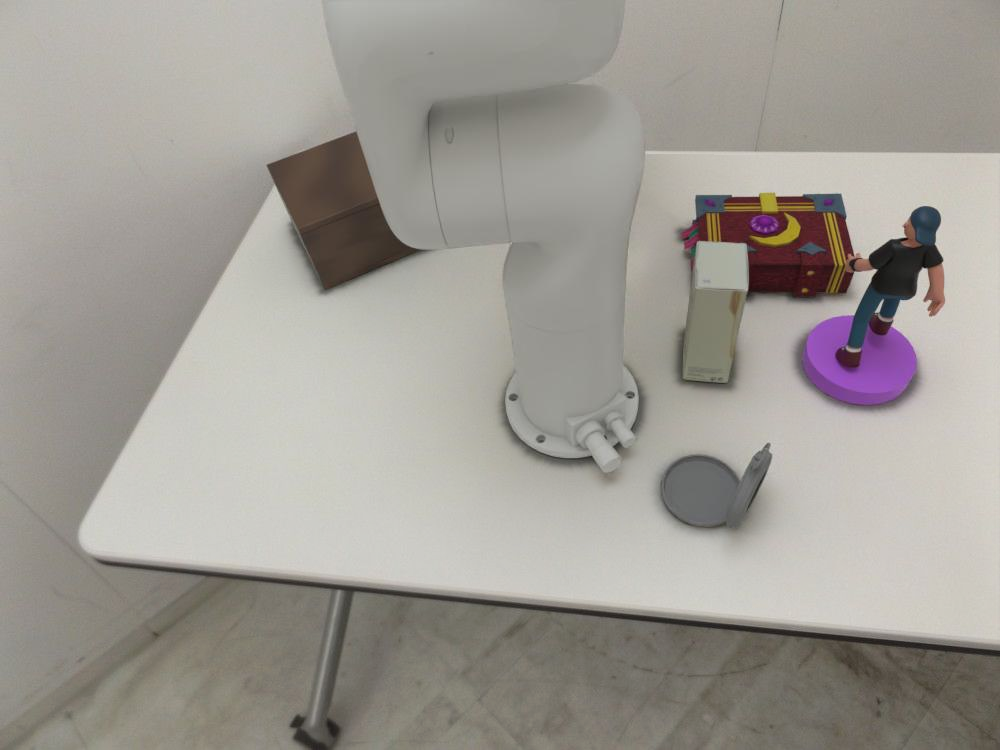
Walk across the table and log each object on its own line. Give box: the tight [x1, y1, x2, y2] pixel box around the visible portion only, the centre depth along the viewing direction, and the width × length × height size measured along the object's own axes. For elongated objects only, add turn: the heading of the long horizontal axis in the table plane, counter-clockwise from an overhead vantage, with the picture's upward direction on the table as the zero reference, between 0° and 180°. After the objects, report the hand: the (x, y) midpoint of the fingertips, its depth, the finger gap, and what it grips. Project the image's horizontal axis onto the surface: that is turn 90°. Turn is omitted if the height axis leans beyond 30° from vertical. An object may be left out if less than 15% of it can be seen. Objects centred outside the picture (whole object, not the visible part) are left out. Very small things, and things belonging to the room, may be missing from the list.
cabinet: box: [266, 131, 423, 291], centre depth 82 cm, size 15×14×9 cm
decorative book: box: [681, 192, 856, 298], centre depth 73 cm, size 11×16×5 cm
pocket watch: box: [660, 442, 773, 529], centre depth 54 cm, size 8×8×10 cm
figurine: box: [801, 205, 946, 406], centre depth 58 cm, size 9×9×18 cm
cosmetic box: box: [682, 241, 749, 384], centre depth 63 cm, size 6×4×12 cm
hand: (545, 108), depth 85 cm, fingers closed
